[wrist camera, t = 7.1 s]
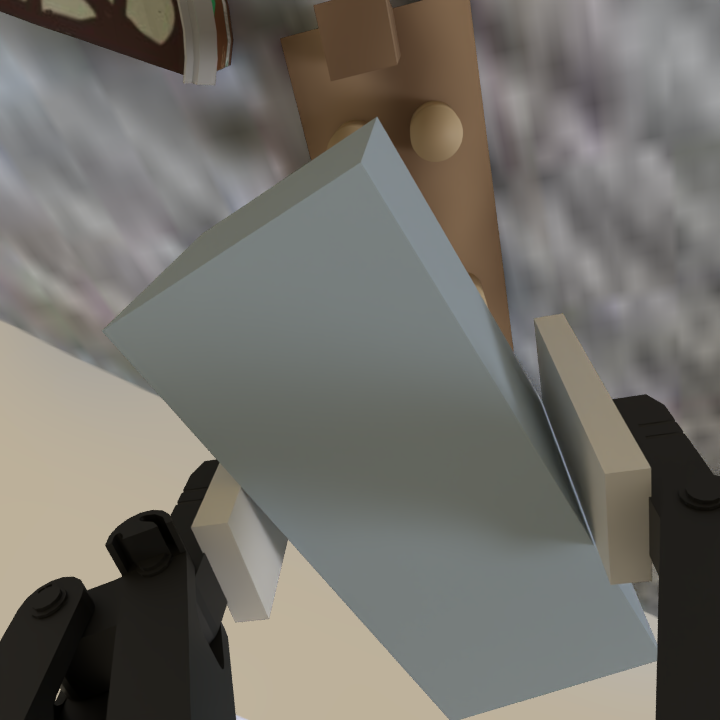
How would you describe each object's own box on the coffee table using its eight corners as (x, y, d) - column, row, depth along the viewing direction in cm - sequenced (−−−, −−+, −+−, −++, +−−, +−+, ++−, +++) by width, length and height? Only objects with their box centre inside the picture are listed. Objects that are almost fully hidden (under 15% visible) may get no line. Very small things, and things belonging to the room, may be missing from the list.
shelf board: (377, 116, 14) (360, 162, 9) (592, 487, 19) (663, 659, 14) (201, 234, 16) (101, 330, 11) (439, 548, 21) (451, 721, 16)
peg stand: (465, -10, 28) (511, -49, 16) (512, 358, 37) (564, 515, 25) (284, 38, 30) (198, 36, 17) (371, 381, 39) (354, 540, 26)
